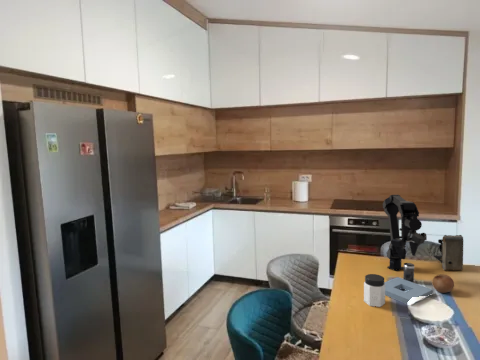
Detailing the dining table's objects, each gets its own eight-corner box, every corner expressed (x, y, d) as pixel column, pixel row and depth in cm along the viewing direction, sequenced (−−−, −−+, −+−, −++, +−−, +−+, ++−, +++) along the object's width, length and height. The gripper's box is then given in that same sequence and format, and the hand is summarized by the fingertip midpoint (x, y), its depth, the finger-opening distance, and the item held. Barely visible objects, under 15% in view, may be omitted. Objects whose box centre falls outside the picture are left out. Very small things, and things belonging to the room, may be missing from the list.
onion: (436, 298, 161) (428, 282, 159) (436, 286, 168) (428, 270, 167) (458, 296, 156) (450, 279, 154) (456, 283, 163) (449, 267, 161)
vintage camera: (449, 262, 198) (449, 228, 197) (463, 271, 183) (463, 235, 181) (431, 262, 199) (431, 229, 198) (445, 271, 184) (445, 236, 182)
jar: (364, 305, 151) (364, 280, 150) (363, 297, 159) (363, 273, 157) (385, 308, 148) (386, 282, 147) (384, 299, 156) (384, 274, 155)
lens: (406, 278, 177) (407, 262, 176) (415, 281, 173) (416, 264, 172) (401, 280, 175) (401, 264, 174) (410, 284, 171) (410, 267, 170)
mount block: (397, 281, 174) (397, 277, 174) (432, 294, 159) (432, 289, 159) (375, 291, 165) (375, 286, 164) (410, 305, 149) (410, 300, 149)
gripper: (409, 231, 160) (410, 263, 161) (434, 227, 169) (434, 257, 169) (389, 227, 170) (390, 258, 171) (413, 224, 179) (413, 253, 179)
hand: (407, 257), depth 172 cm, fingers open, 9 cm apart
